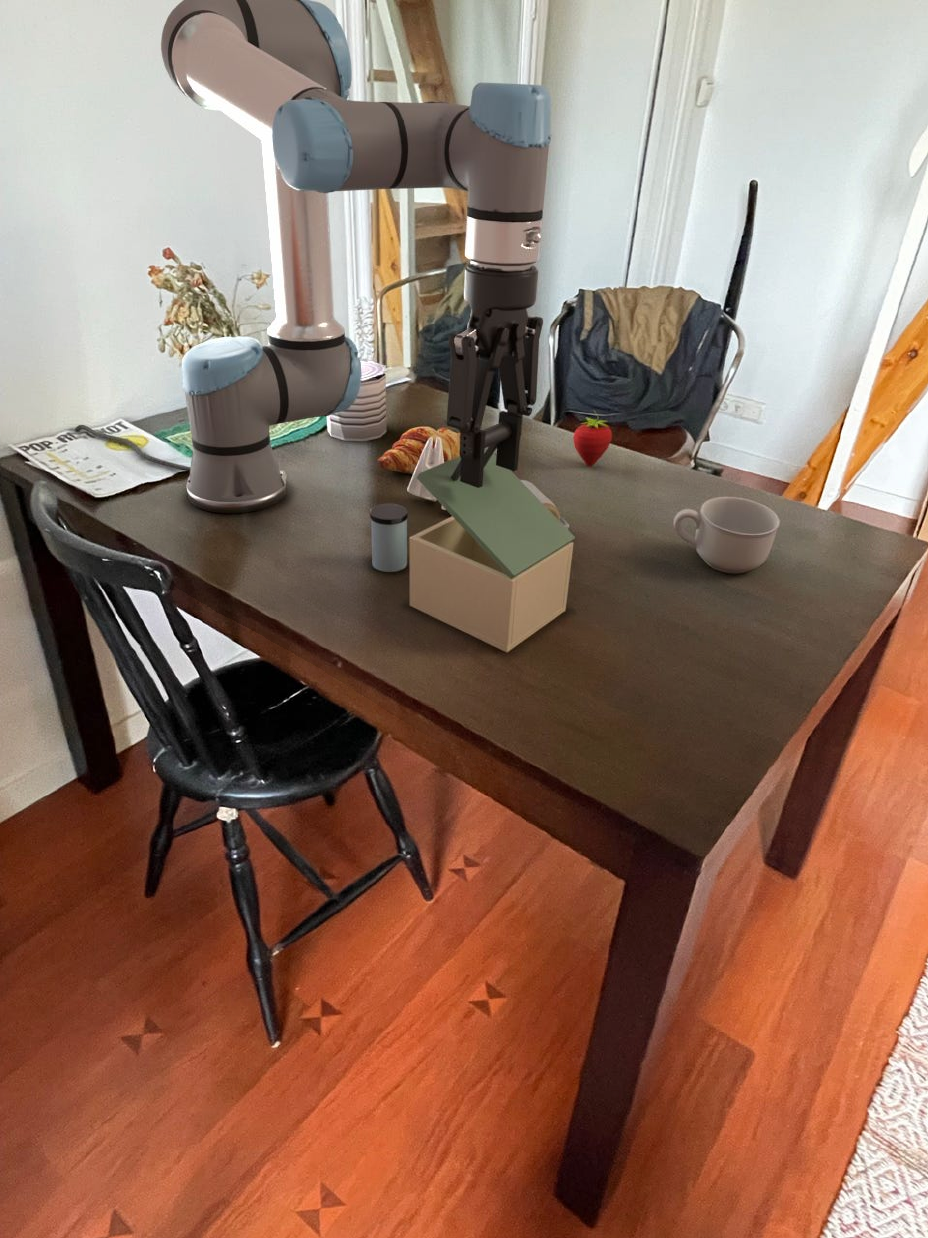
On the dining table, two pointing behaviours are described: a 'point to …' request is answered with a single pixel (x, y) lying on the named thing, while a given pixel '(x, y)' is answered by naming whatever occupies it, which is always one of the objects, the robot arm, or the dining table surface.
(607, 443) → the strawberry
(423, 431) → the croissant
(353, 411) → the can
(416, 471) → the shaker set
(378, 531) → the coffee tin
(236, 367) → the robot arm
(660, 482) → the dining table surface
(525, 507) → the lid
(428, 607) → the tan storage tray
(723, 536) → the teacup
